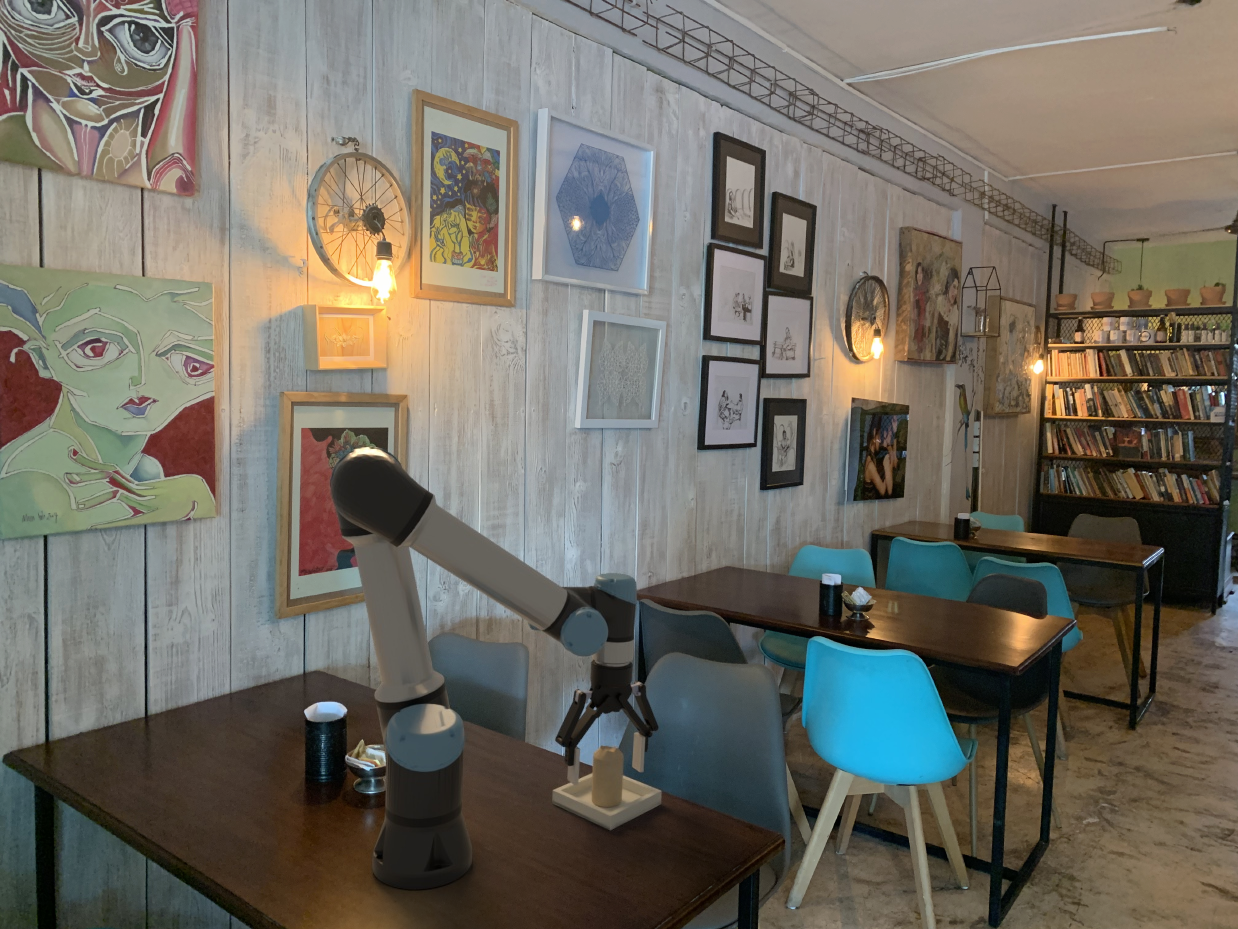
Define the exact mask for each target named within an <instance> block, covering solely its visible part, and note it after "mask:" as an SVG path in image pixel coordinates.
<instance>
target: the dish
mask: <svg viewBox="0 0 1238 929" xmlns="http://www.w3.org/2000/svg"><path fill="white" fill-rule="evenodd" d="M592 773H593V772H591V773H589V774H587V775H584V776H582V777H581V778H580V777H579V780H578V785H575V786H574V785H573V784H572V783H571V782H568V783H567V784H564V785H562V786H559V787H556V788H555V789H552V798H551V800H552V802H551V803H552V805H554V806H556V807H559V808H561V809H563V810H566V811H567V812H569V813H572V814H573V815H576V816H578V817H580V818H583V819H585V820H587V821H589V822H591V823H593V824H595V825H597V826H600V827H602V828H604V829H606V830H609V831H612V830H613V829H616V828H618V827H619V826H621V825H625V823H627V822H630V821H631V820H633V819H635V818H637V817H639V816H640V815H643V814H645V813H646V812H649V811H651V810H653V809H654V808H656V807H658V806H660V805H662V794H663V793H662V790H660V789H659V788H656V787H653V786H650V785H649V784H646V783H643V782H640V781H639V780H635V779H632V778H631V777H628V776H626V775H623V783H622V801H621V803H620V804H619V805H618V806H615V807H600V806H597V805H595V804H594V803H593V802H592Z"/></svg>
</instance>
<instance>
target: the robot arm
mask: <svg viewBox="0 0 1238 929" xmlns="http://www.w3.org/2000/svg"><path fill="white" fill-rule="evenodd" d="M330 495H331V496H330V497H331V499H332V502H333V504H334V508H335V510H336V515H337V520H338V524H339V528H340V534H341V537H342V539H344V540H346V541H347V542H349V543H350V544H352V545H353V549H354V554H355V559H356V564H357V569H358V574H359V578H360V579H359V580H360V582H361V584H360V585H361V588H362V592H363V597H364V604H365V608H366V613H367V617H368V618H367V619H368V622H369V628H370V633H371V639H372V642H373V646H374V653H375V657H376V662H377V667H378V671H379V677H380V682H381V683H380V685H379V686H378V687H377V689H376V690H375V692H374V700H375V704H376V710H377V714H378V719H379V725H380V731H381V736H382V741H383V751H384V758H385V759H384V760H385V810H384V811H385V813H384V820H383V823H382V824H381V828H380V832H379V834H378V836H377V839H376V843H375V845H374V849H373V852H372V864H371V865H372V868H371V869H372V873H373V875H374V876H375V878H376V879H377V880H379V881H380V882H382V883H384V884H385V885H387V886H390V887H394V888H397V889H404V890H426V889H433V888H438V887H441V886H445V885H448V884H450V883H452V882H454V881H457V880H458V879H460V878H461V877H463V875H465V874H467V872H468V871H469V870H470V868H471V865H472V863H473V845H472V841H471V839H470V835H469V832H468V829H467V825H466V822H465V819H464V818H465V817H464V815H463V786H464V785H463V780H464V778H463V777H464V772H463V771H464V748H465V742H466V733H465V730H464V723H463V719H462V717H461V716H460V715H459V713H458V712H456V711H455V710H453V709H452V708H451V707H450V702H449V696H448V692H447V686H446V682H445V677H444V676H443V674H441V673H440V672H437V671H435V670H434V668H433V662H432V658H431V653H430V648H429V647H430V646H429V642H428V638H427V631H426V627H425V622H424V617H423V612H422V606H421V601H420V597H419V591H418V585H417V581H416V575H415V571H414V564H413V561H412V554H411V550H410V548H411V549H412V550H414V551H415V552H417V553H418V554H420V555H421V556H423V557H424V558H426V559H427V560H429V561H431V562H432V563H434V564H435V565H438V566H439V567H440V568H442V569H443V570H445V571H447V572H449V573H450V574H452V575H453V576H455V577H457V578H458V579H459V580H461V581H463V582H464V583H466V584H467V585H469V586H471V588H474V589H475V590H477V591H478V592H480V593H481V594H483V595H485V596H486V597H488V598H489V599H491V600H492V601H495V602H496V603H497V604H499V605H501V606H502V607H504V608H505V609H507V610H508V611H510V612H512V613H513V614H515V615H516V616H518V617H520V618H521V619H522V620H524V621H525V622H527V625H528V627H529V628H530V629H531V630H533V631H539V632H543V633H545V635H548V636H549V637H550V638H551V639H554V641H557V642H558V643H559V644H561V645H562V646H563V648H564V649H565V650H567V651H568V652H570V653H572V655H575V656H577V657H582V658H583V657H584V658H585V657H591V658H592V660H591V662H590V676H589V677H590V687H589V690H581V689H579V688H575V690H574V691H573V696H572V703H571V704H570V706H569V708H568V711H567V712H566V715H565V716H564V719H563V721H562V724H561V726H560V728H559V730H558V732H557V734H556V736H555V738H554V741H555V743H556V744H558V745H559V746H561V747H562V748H564V760H563V761H564V764H565V765H567V776H566V777H567V781H568V782H569V783H572V784H573V785H574V786H575V785H578V780H579V779H580V777H579V776H580V758H581V748H580V747H579V746H578V745H579V744H580V742H581V740H582V739H584V737H585V735H586V734H587V732H588V731H589V730H590V729H591V727H592V725H593V724H594V722H595V721H596V720H597V719H599V718H600V717H601V716H602V715H603V714H604V715H608V714H610V713H620V712H621V710H622V712H623V713H624V714H625V715H626V717H627V718H628V719H629V721H630V722H631V723H632V724H633V726H634V728H636V730H637V732H634V733H633V743H632V744H633V745H632V746H633V747H632V764H631V767H632V768H633V769H635V771H638V772H639V773H644V764H645V753H647V752H648V750H649V738H651V737H652V736H653V732H657V731H659V725H658V722H657V719H656V717H655V714H654V712H653V709H652V706H651V704H650V702H649V699H648V697H647V685H646V684H644V683H642V682H640V681H638V680H635V681H634V682H633V684H631V683H632V681H633V670H634V669H633V666H634V664H633V662H632V661H633V660H634V657H635V656H634V655H635V654H634V653H635V652H634V651H635V628H636V627H635V626H636V614H637V604H638V599H637V597H638V595H637V593H638V592H637V591H638V590H637V581H636V579H635V578H634V577H632V576H631V575H629V574H626V573H625V574H624V573H620V572H619V573H617V572H606V573H600V574H598V575H597V576H596V577H595V580H594V581H595V582H594V583H593V584H594V585H589V586H561V585H559V584H557V583H556V582H555V581H553V580H551V579H550V578H548V577H547V576H546V575H544V574H542V573H540V572H539V571H538V570H536V569H534V568H533V567H531V565H529V564H527V563H526V562H524V560H521V559H519V558H518V557H517V556H515V555H514V554H512V553H510V552H509V551H508V550H506V549H504V548H503V547H502V546H501V545H499V544H497V543H496V542H494V541H493V540H491V539H489V537H486V536H485V535H484V534H482V533H481V532H479V531H478V530H476V529H475V528H473V527H472V526H470V525H469V524H467V523H465V522H464V521H463V520H461V519H459V518H458V517H456V516H454V515H453V514H452V513H450V512H449V511H447V510H446V509H445V508H443V507H442V506H439V505H438V503H437V500H436V495H435V494H434V493H432V492H431V491H429V490H428V489H426V488H424V487H423V486H422V485H421V484H419V483H418V482H417V481H416V480H415V479H414V478H413V477H412V476H411V475H409V473H408V472H407V471H406V470H405V469H404V467H403V465H402V463H401V461H399V459H398V458H397V457H396V456H395V455H394V454H392V453H391V452H389V451H387V450H386V449H383V448H381V447H375V446H367V447H366V446H365V447H363V446H362V447H358V448H355V449H352V450H350V451H348V452H347V453H345V454H344V455H342V457H341V458H339V459H338V460H337V462H336V464H335V466H334V467H333V469H332V472H331V476H330ZM632 694H633V696H634V698H635V700H636V703H637V706H638V708H639V711H640V713H641V716H642V718H643V720H642V718H641V716H639V715H638V714H639V713H637V712H636V711H635V709H634V707H633V706H632V704H631V703H630V702H629V698H630V697H631V696H632ZM589 699H590V701H588V700H589ZM586 704H587V705H586ZM585 706H586V707H585ZM584 710H585V711H584Z"/></svg>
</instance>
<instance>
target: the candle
mask: <svg viewBox="0 0 1238 929" xmlns="http://www.w3.org/2000/svg"><path fill="white" fill-rule="evenodd" d="M599 746H600V747H598V749H597V750H595V751H594V753H593V754H592V755H593V756H592V772H591V773H592V802H593V803H594V804H595V805H597V806H600V807H615V806H618V805H619V804H620V803H621V801H622V783H623V776H624V759H625V758H624V753H623V752H622V751H621V750H620V749H619V747H617V746H609V745H599Z"/></svg>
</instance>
